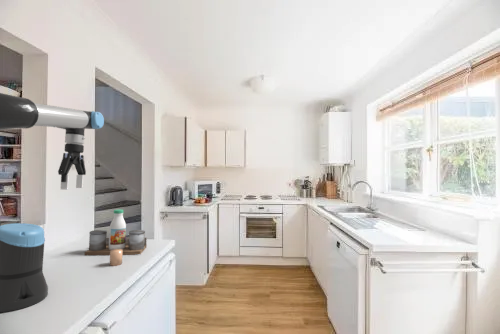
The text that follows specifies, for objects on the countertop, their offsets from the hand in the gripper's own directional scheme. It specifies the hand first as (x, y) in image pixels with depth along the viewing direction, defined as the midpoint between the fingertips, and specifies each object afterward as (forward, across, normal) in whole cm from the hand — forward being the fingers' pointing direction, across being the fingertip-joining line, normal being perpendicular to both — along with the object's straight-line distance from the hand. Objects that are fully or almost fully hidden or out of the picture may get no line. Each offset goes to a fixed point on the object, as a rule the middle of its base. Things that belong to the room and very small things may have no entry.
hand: (72, 188), depth 124 cm
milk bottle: (+31, +10, -18) cm, 38 cm away
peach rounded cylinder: (+33, -9, -24) cm, 42 cm away
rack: (+33, +11, -18) cm, 39 cm away
